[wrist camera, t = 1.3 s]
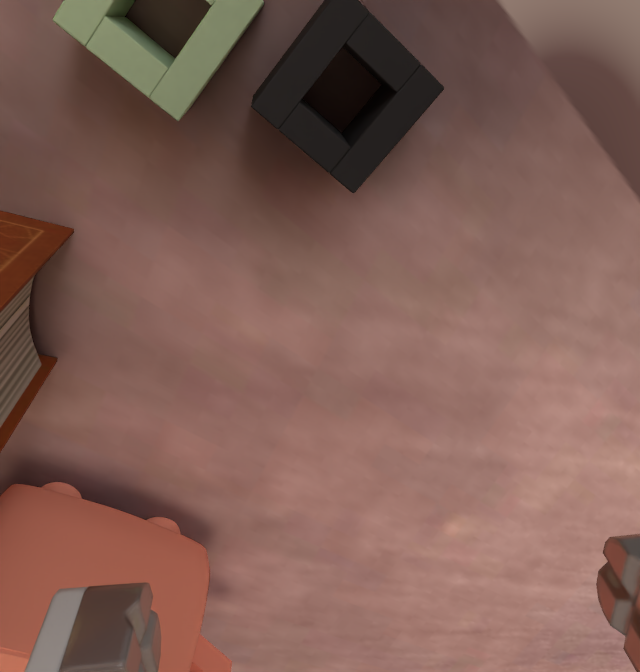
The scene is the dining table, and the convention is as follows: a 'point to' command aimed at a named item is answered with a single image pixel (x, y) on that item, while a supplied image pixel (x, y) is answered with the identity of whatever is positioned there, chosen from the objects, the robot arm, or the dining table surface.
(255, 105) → the black hollow square block
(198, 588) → the teapot
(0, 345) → the book
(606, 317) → the dining table surface
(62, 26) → the green hollow square block
